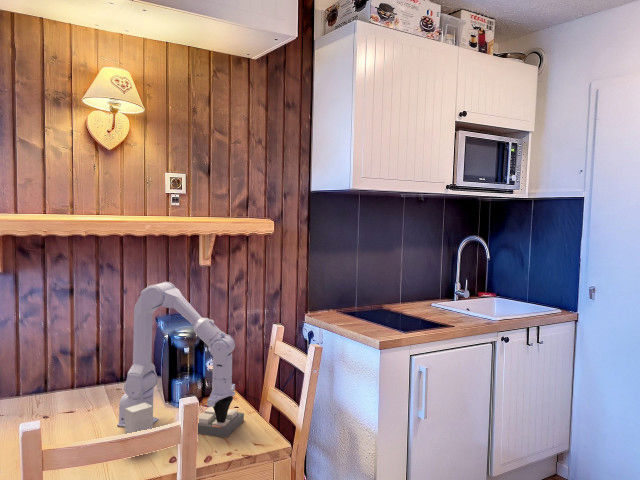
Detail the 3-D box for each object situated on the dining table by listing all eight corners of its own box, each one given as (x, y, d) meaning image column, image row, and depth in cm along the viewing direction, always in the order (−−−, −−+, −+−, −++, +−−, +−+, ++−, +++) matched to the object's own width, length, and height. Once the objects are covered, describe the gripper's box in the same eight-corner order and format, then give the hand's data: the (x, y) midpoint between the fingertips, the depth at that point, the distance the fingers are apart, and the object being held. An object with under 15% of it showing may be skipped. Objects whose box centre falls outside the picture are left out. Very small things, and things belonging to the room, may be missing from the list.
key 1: (195, 424, 142) (195, 417, 141) (202, 419, 145) (202, 412, 145) (207, 426, 141) (207, 419, 140) (213, 421, 144) (213, 414, 144)
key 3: (211, 430, 140) (211, 423, 140) (217, 424, 144) (218, 418, 144) (224, 431, 139) (224, 425, 139) (230, 426, 143) (230, 419, 143)
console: (188, 431, 140) (188, 422, 140) (208, 415, 152) (208, 407, 152) (226, 437, 137) (226, 428, 137) (243, 420, 149) (243, 412, 149)
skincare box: (144, 444, 132) (145, 401, 132) (152, 449, 129) (153, 405, 129) (123, 451, 127) (124, 407, 127) (132, 457, 125) (132, 412, 124)
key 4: (220, 419, 145) (220, 413, 145) (225, 414, 149) (226, 408, 149) (232, 421, 144) (232, 415, 144) (237, 416, 148) (237, 410, 148)
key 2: (204, 417, 147) (204, 411, 147) (210, 412, 151) (210, 406, 151) (215, 419, 146) (216, 412, 146) (221, 414, 150) (221, 408, 150)
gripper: (223, 386, 133) (222, 433, 134) (244, 371, 147) (243, 414, 148) (201, 383, 135) (200, 430, 135) (223, 368, 149) (222, 411, 149)
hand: (221, 421), depth 142 cm, fingers closed, pressing on key 3
